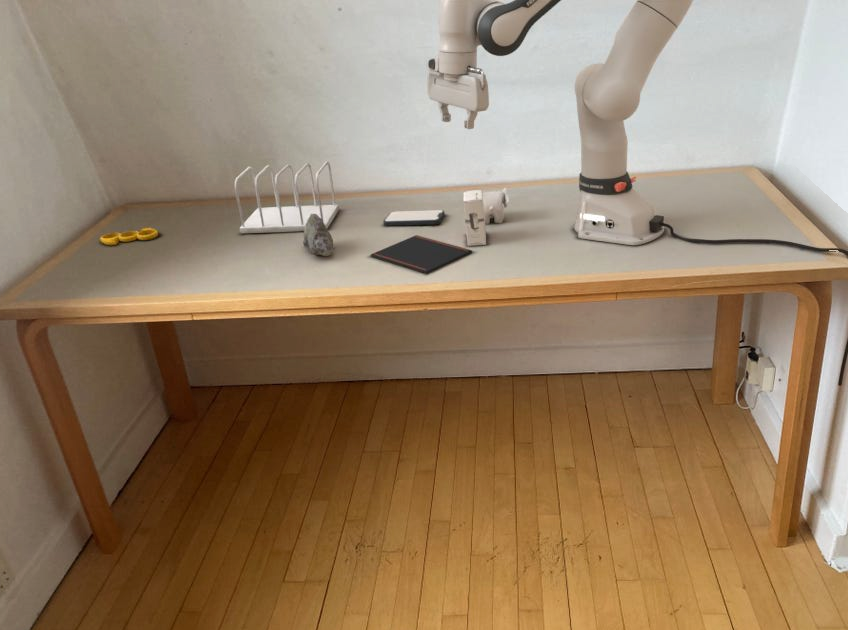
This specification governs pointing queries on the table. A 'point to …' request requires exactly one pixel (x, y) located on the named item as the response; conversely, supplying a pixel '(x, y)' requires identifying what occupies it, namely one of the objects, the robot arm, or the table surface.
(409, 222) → the smartphone
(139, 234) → the yellow linked rings
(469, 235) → the ink box
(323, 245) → the mineral rock
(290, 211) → the file sorter
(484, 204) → the elephant figurine
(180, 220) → the table surface
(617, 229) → the robot arm
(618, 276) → the table surface
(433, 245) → the mat
